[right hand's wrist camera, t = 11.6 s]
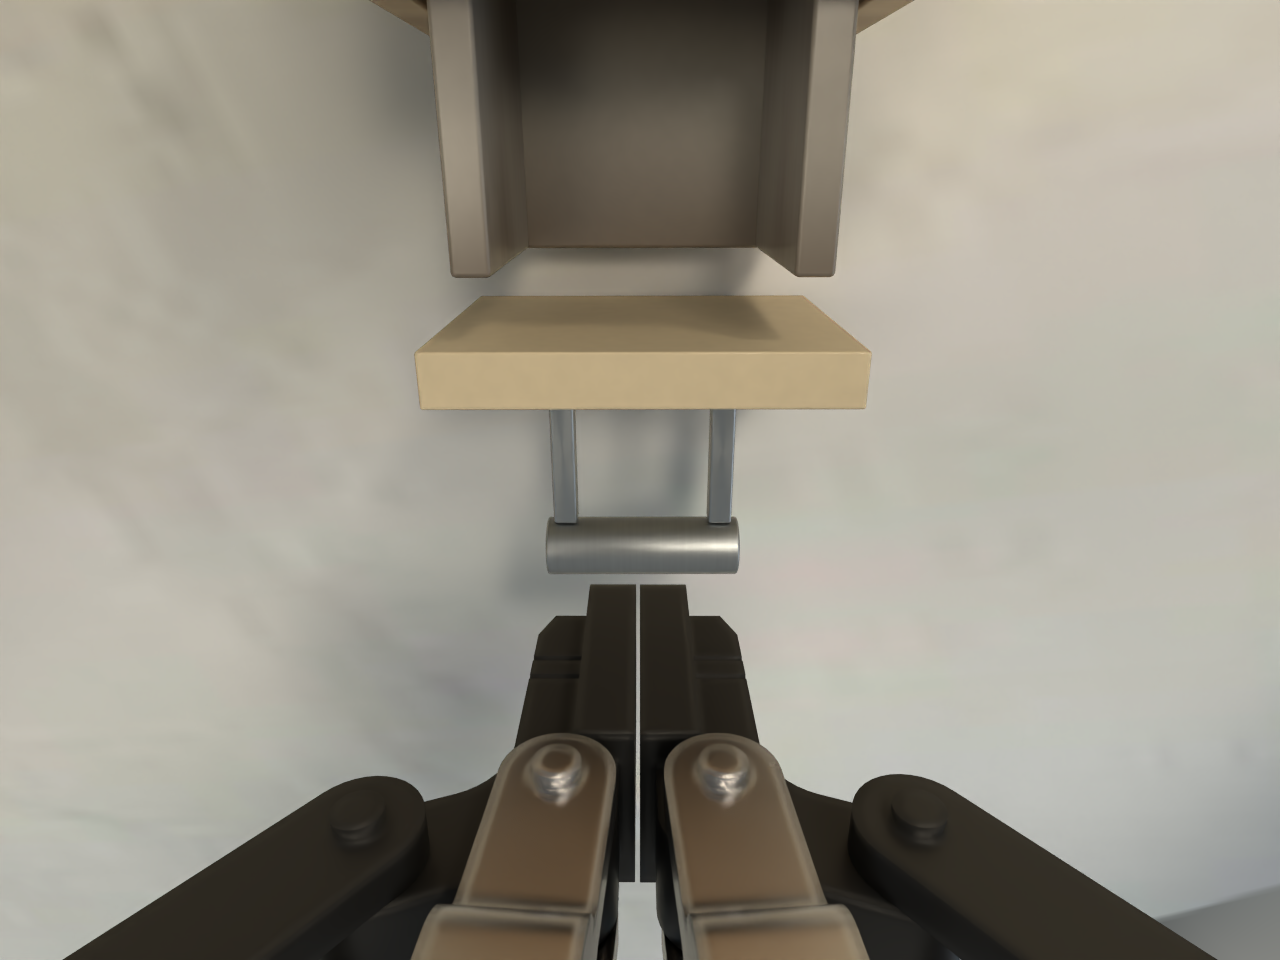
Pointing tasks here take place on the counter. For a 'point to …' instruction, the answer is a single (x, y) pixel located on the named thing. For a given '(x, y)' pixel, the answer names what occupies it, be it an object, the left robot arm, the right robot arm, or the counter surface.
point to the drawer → (642, 228)
